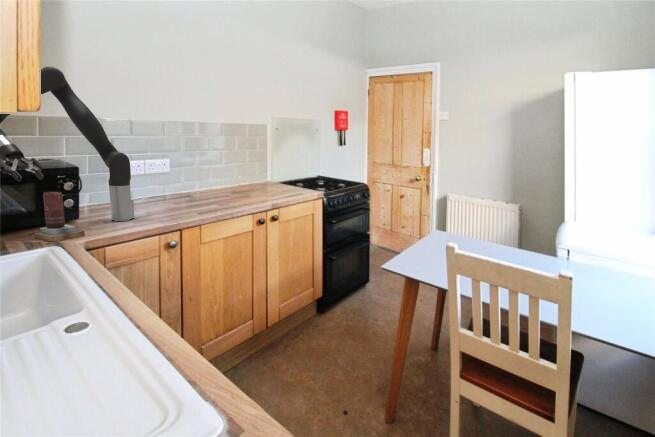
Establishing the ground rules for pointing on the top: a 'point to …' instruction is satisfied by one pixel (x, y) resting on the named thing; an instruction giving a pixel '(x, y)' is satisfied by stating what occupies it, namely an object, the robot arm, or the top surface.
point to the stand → (59, 233)
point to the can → (54, 209)
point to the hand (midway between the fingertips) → (31, 179)
